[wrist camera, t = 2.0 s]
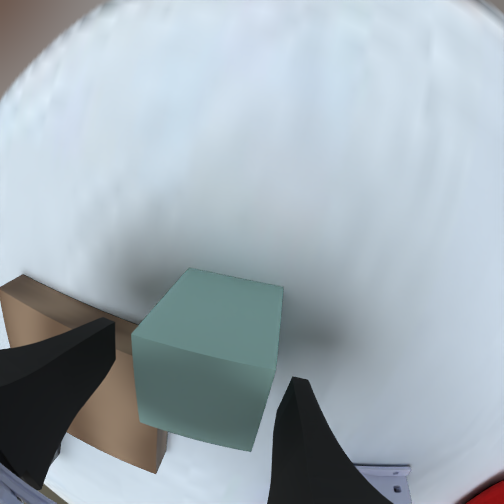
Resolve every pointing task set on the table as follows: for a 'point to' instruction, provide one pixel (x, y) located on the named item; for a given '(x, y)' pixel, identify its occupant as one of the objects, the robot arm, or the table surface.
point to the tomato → (490, 495)
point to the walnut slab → (112, 387)
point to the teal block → (208, 358)
